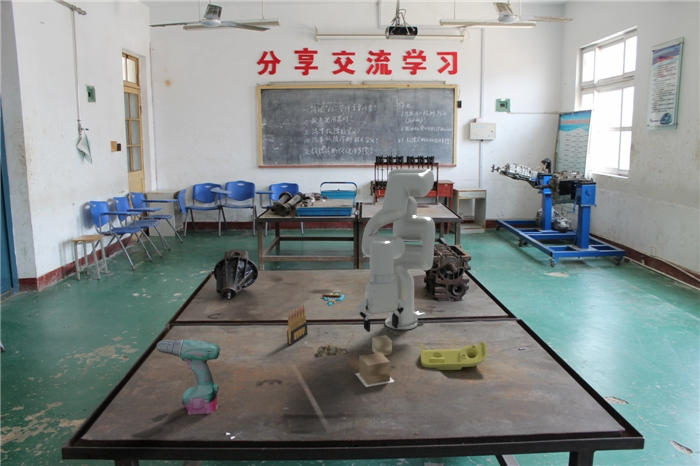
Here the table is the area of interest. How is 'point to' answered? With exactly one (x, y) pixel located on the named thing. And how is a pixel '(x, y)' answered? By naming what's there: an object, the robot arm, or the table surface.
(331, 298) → the gear mechanism
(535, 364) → the table surface
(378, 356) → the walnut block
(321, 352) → the mineral rock
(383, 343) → the maple block
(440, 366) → the plastic component
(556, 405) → the table surface
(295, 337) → the ammunition clip
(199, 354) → the power drill
